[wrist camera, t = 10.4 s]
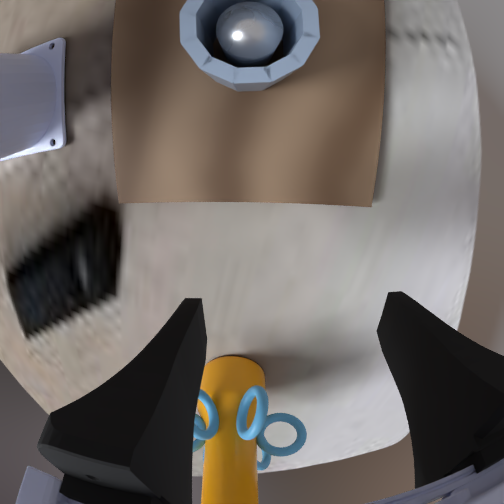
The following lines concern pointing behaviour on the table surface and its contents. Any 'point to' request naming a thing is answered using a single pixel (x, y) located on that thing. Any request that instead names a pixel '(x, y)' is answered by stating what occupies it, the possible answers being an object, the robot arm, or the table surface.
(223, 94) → the walnut board
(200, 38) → the collar
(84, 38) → the table surface
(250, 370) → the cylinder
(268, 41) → the silver metal canister
